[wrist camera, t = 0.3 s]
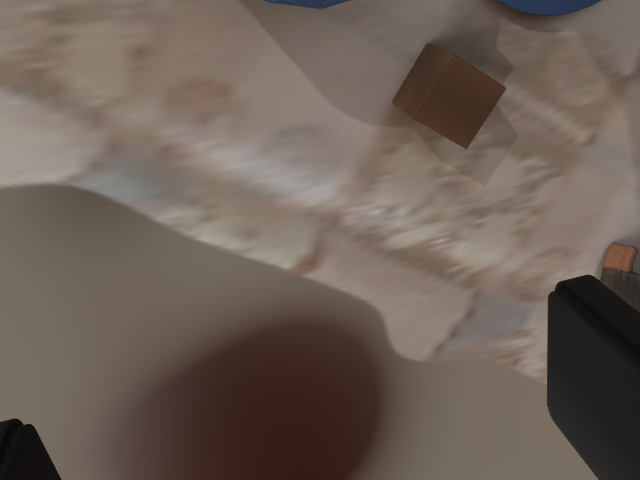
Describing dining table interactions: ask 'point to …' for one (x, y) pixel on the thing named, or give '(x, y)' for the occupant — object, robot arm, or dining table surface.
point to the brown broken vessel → (622, 274)
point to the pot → (309, 3)
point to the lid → (548, 6)
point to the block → (448, 95)
